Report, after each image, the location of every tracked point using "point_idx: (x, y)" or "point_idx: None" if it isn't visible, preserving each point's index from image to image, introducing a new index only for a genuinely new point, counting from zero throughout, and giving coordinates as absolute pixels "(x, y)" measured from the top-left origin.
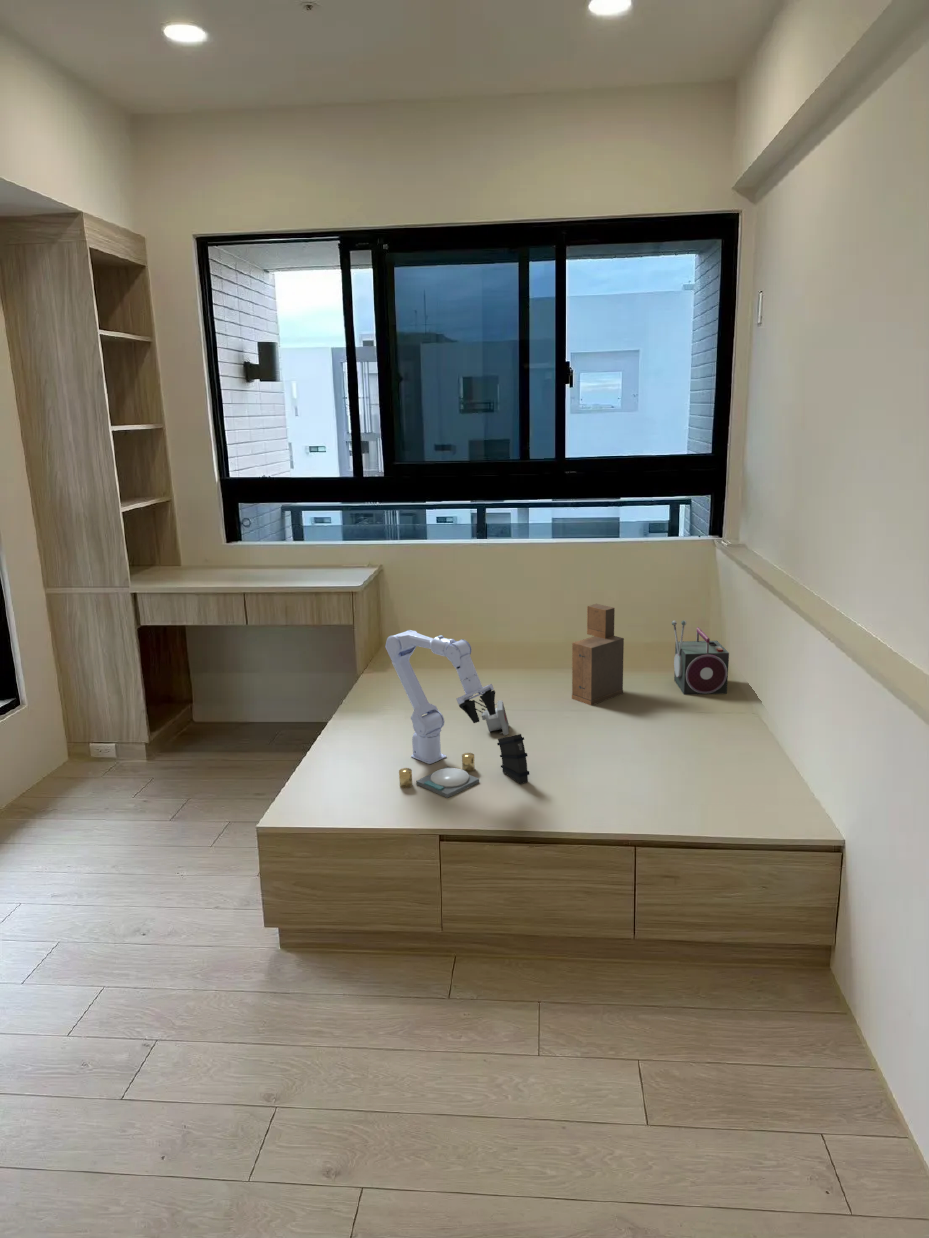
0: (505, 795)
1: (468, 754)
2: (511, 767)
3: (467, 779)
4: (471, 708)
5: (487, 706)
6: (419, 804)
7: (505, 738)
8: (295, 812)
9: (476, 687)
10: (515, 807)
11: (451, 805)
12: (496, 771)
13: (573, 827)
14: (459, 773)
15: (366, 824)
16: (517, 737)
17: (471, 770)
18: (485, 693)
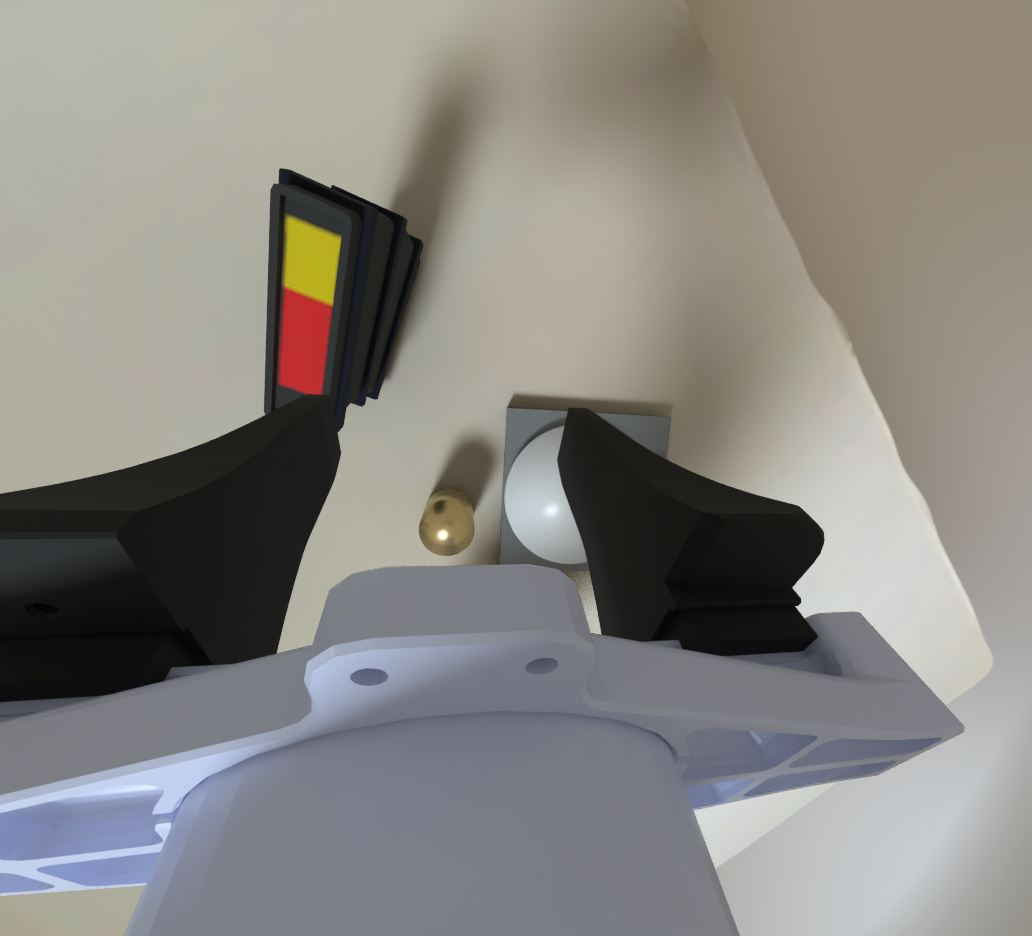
0: (531, 252)
1: (439, 534)
2: (392, 311)
3: (554, 428)
4: (707, 482)
5: (304, 518)
6: (742, 458)
7: (338, 341)
8: (927, 677)
9: (596, 846)
10: (584, 156)
11: (695, 369)
12: (392, 414)
13: None
14: (536, 484)
15: (900, 491)
16: (327, 199)
17: (457, 489)
18: (186, 658)
